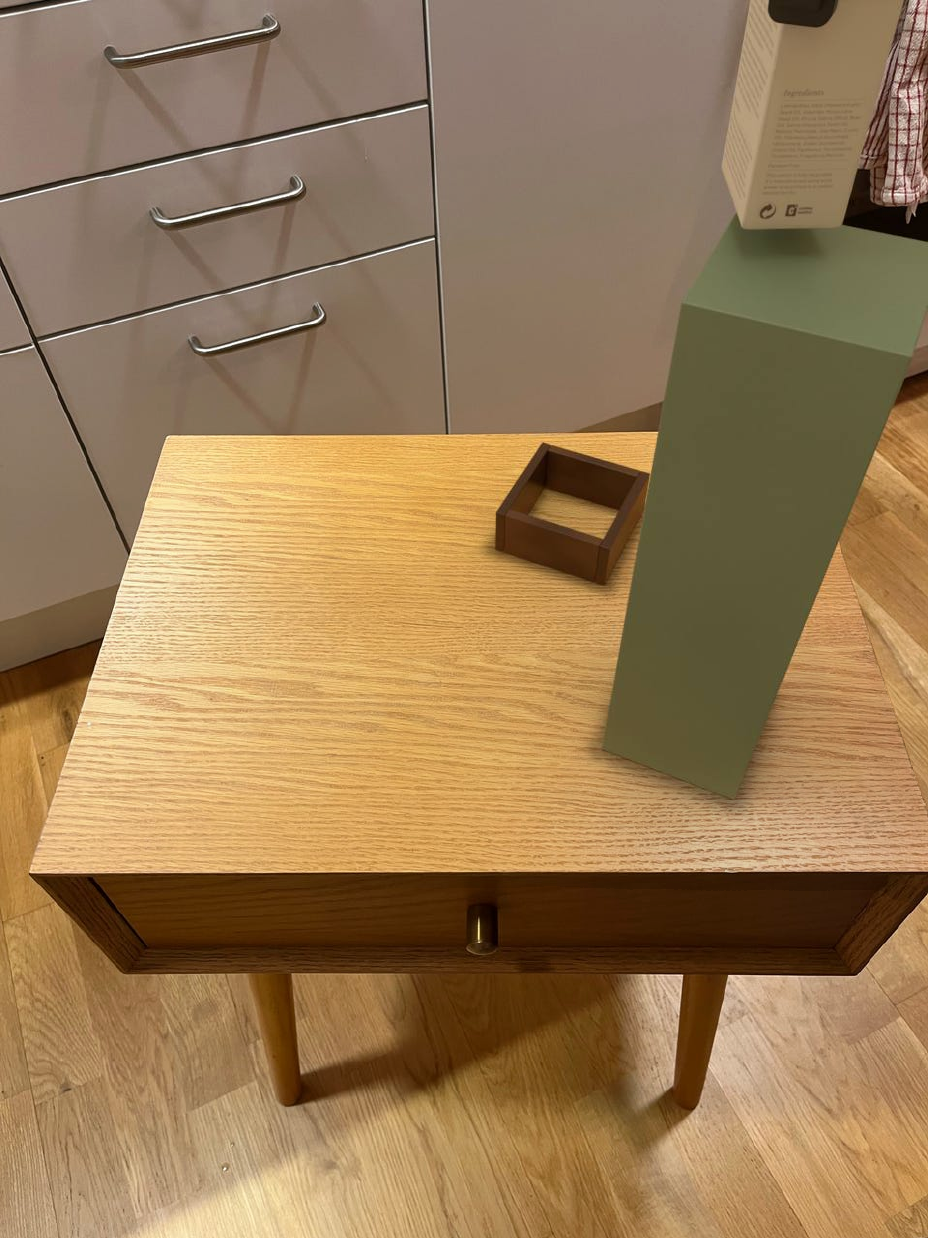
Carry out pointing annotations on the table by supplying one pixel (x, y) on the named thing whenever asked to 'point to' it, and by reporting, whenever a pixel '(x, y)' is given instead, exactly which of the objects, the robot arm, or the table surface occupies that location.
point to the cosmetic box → (804, 113)
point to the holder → (562, 543)
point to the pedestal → (755, 481)
